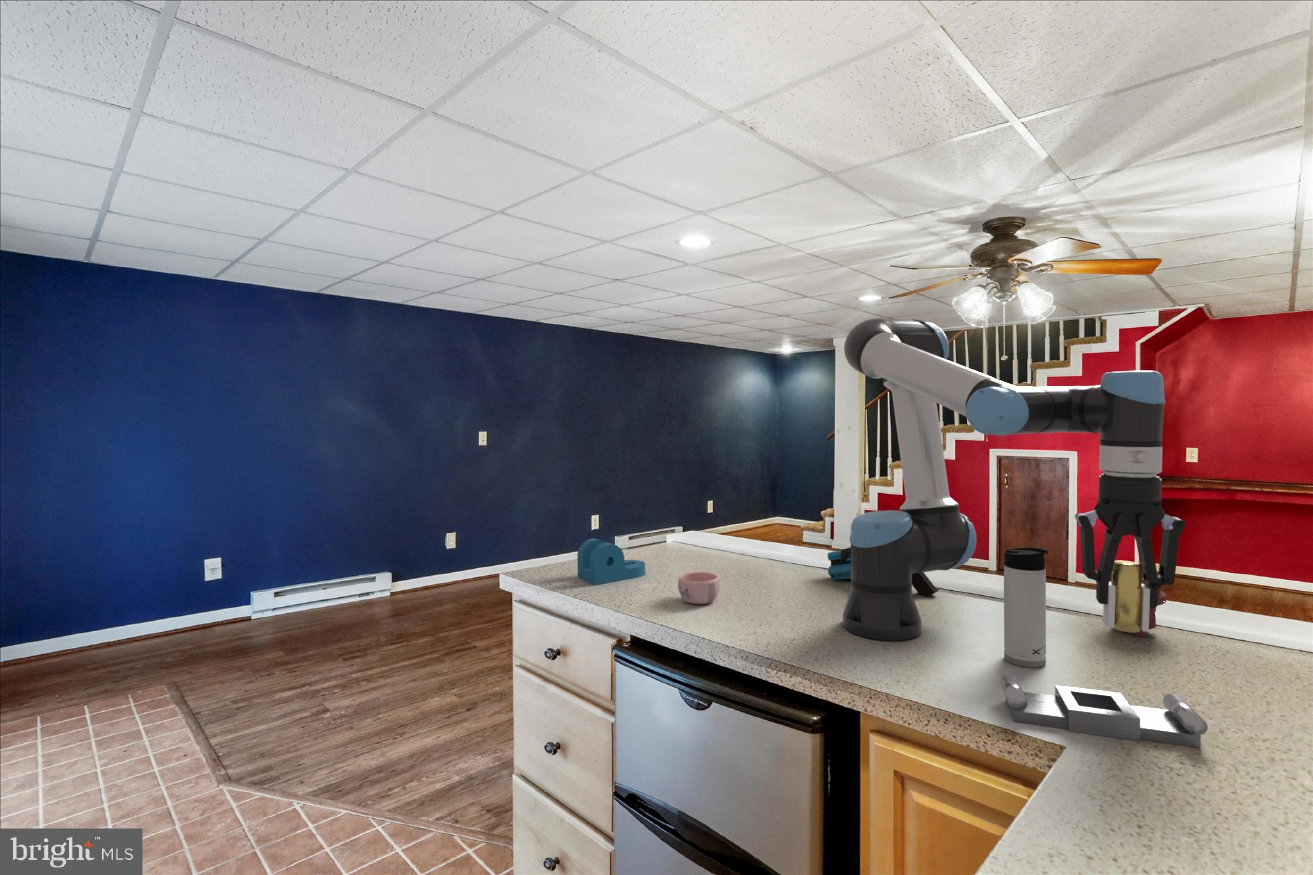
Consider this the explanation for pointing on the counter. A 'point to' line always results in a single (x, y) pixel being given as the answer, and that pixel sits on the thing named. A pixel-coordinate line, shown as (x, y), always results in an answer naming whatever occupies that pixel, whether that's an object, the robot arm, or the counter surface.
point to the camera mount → (606, 563)
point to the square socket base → (1105, 714)
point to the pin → (1127, 595)
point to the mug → (698, 587)
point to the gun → (843, 571)
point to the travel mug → (1025, 607)
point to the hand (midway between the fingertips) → (1125, 626)
